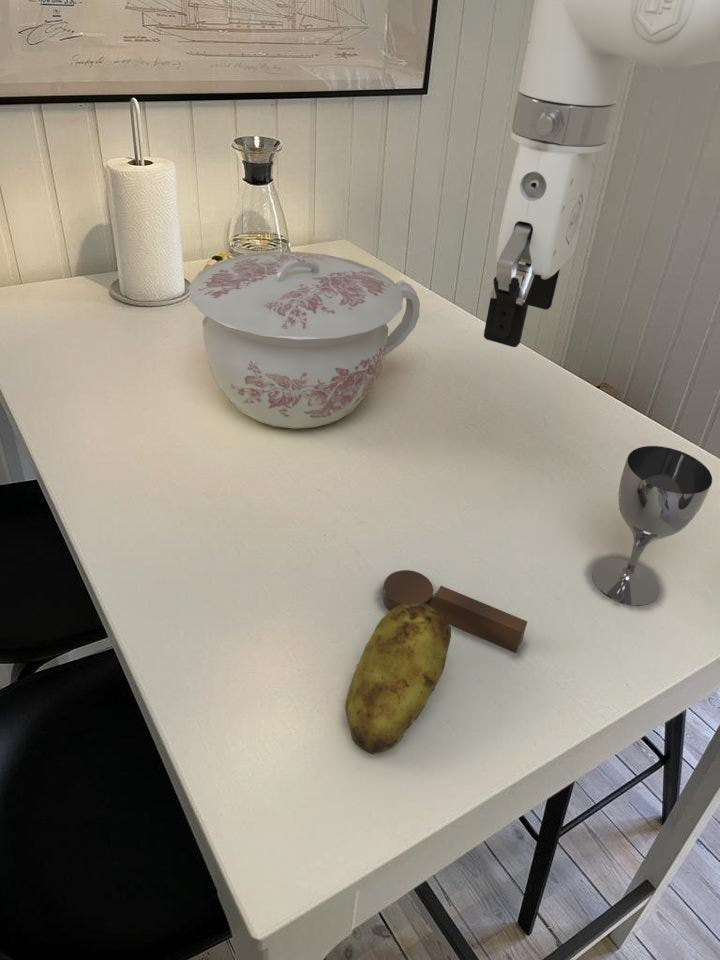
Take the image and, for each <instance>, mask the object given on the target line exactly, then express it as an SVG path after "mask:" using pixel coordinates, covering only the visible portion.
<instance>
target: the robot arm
mask: <svg viewBox="0 0 720 960" xmlns="http://www.w3.org/2000/svg"><path fill="white" fill-rule="evenodd" d="M628 61H631V62H634V63H636V64H639V65H643V66H646V67H649V68H654V69H660V70H676V69H683V68H688V67H694V66H698V65H701V64H702V65H703V64H707V63H708V64H709V63H716V62H720V0H534V2H533V7H532V13H531V19H530V24H529V29H528V36H527V40H526V47H525V53H524V59H523V63H522V70H521V77H520V82H519V87H518V92H517V98H516V102H515V108H514V115H513V121H512V124H511V129H510V135H509V137H510V139H511V140H512V141H513V142H515V143H517V144H518V148H517V152H516V156H515V160H514V164H513V167H512V170H511V175H510V176H511V177H510V180H509V185H508V189H507V192H506V198H505V202H504V207H503V212H502V216H501V222H500V228H499V231H498V232H499V233H498V236H497V237H498V238H497V244H496V251H495V263H496V276H494V278H493V283H492V284H493V286H492V288H491V292H490V299H489V304H488V310H487V314H486V320H485V324H484V325H485V326H484V330H483V331H484V332H483V338H484V339H485V340H487V341H491V342H494V343H497V344H501V345H505V346H507V347H511V348H517V347H518V346H519V345H520V344H521V341H522V335H523V332H524V327H525V322H526V317H527V313H528V307H529V306H530V307H533V308H538V309H542V310H549V309H550V308H551V307H552V305H553V301H554V296H555V292H556V289H557V288H556V287H557V283H558V280H559V276H560V271H561V268H562V267H563V266H564V265H565V264H566V263H567V262H568V260H570V258H571V257H572V256H573V254H574V253H575V252H576V249H577V245H578V242H579V237H580V232H581V228H582V223H583V218H584V214H585V213H584V212H585V207H586V202H587V200H588V199H587V198H588V193H589V188H590V184H591V177H592V172H593V166H594V160H595V154H596V153H601V152H603V151H605V148H606V145H607V140H608V137H609V132H610V129H611V125H612V122H613V121H612V120H613V116H614V112H615V108H616V105H617V104H616V103H617V100H618V96H619V92H620V88H621V84H622V81H623V76H624V72H625V68H626V65H627V62H628ZM522 263H525V264H522ZM515 276H519V277H522V278H521V283H520V280H519V278H518V277H515Z"/></svg>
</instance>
